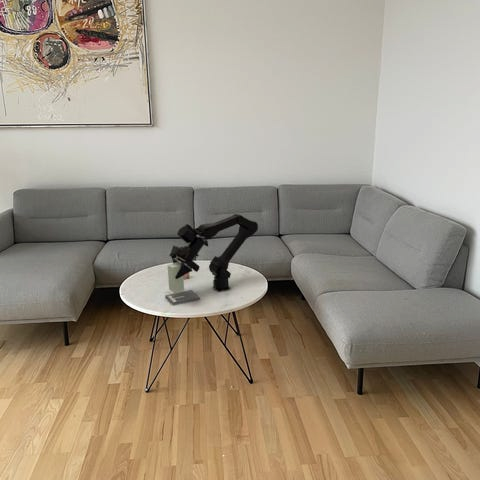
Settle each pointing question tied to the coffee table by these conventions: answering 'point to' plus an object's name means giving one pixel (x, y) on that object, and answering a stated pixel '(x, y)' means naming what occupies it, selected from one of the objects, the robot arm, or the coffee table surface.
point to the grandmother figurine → (186, 275)
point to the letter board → (182, 297)
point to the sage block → (174, 283)
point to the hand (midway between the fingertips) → (173, 276)
